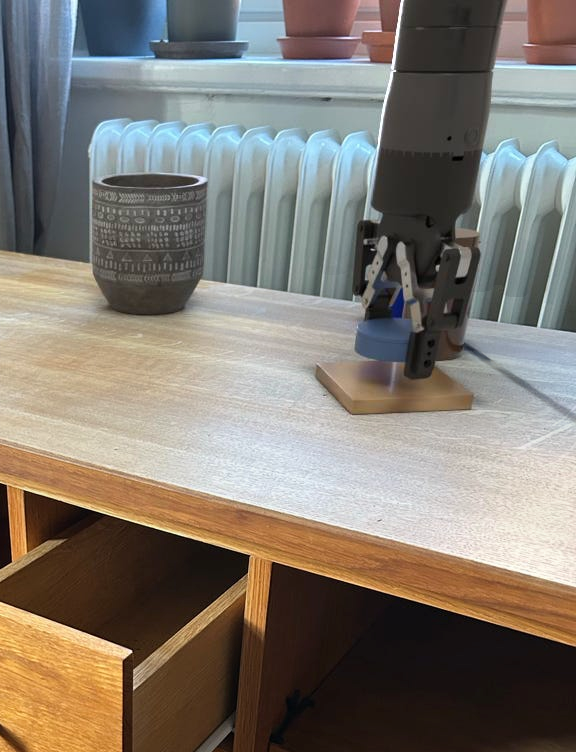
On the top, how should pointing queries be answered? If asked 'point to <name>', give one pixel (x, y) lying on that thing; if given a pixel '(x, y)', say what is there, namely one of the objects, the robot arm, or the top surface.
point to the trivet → (390, 388)
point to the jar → (451, 338)
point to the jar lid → (383, 339)
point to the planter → (148, 239)
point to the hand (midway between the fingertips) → (394, 364)
